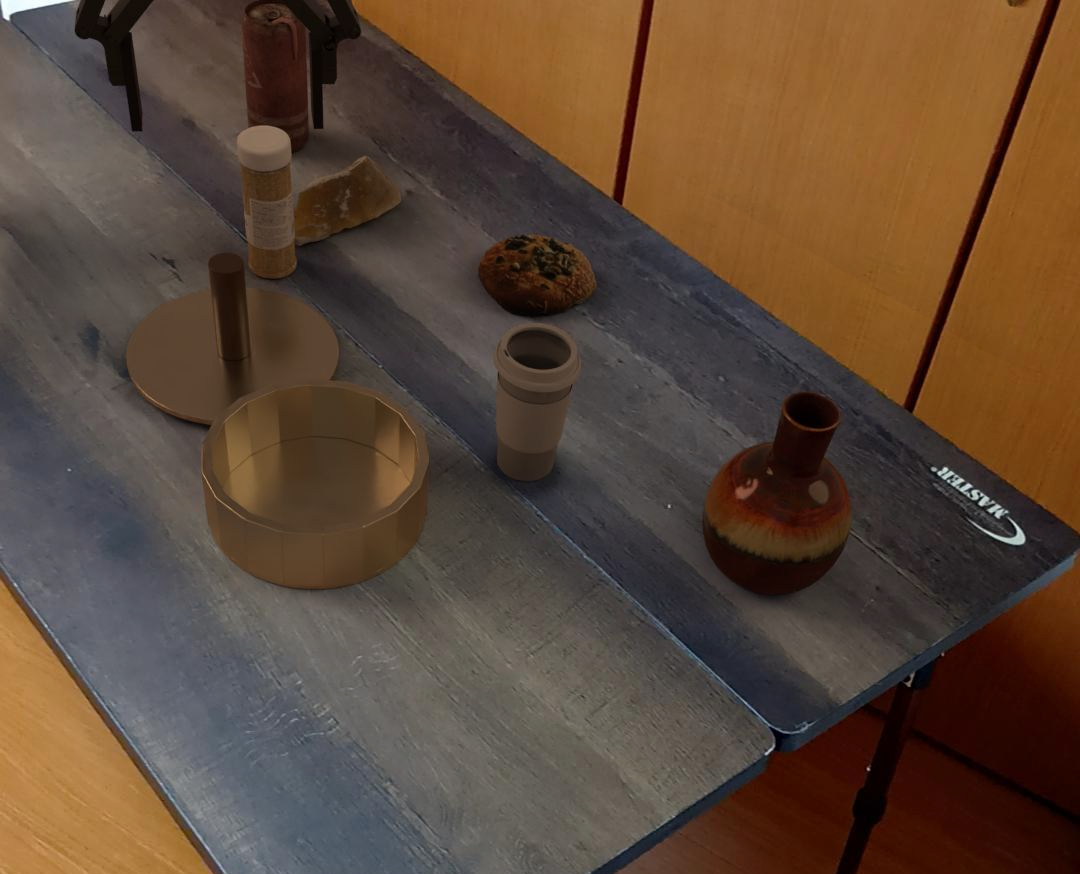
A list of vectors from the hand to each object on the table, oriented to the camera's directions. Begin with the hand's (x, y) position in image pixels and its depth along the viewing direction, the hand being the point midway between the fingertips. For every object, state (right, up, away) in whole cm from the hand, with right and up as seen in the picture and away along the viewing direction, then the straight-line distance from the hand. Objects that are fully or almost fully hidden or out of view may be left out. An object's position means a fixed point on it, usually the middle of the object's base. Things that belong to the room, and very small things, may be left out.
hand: (228, 121), depth 102 cm
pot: (+7, -30, 0) cm, 31 cm away
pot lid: (-2, -17, +11) cm, 20 cm away
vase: (+42, -34, +1) cm, 54 cm away
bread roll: (+24, -8, +23) cm, 34 cm away
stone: (+3, +3, +25) cm, 25 cm away
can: (-3, +9, +35) cm, 36 cm away
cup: (+23, -26, +6) cm, 35 cm away
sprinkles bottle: (-1, -7, +21) cm, 22 cm away
